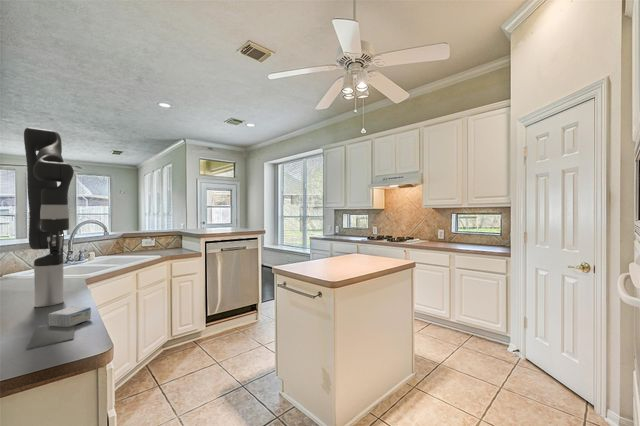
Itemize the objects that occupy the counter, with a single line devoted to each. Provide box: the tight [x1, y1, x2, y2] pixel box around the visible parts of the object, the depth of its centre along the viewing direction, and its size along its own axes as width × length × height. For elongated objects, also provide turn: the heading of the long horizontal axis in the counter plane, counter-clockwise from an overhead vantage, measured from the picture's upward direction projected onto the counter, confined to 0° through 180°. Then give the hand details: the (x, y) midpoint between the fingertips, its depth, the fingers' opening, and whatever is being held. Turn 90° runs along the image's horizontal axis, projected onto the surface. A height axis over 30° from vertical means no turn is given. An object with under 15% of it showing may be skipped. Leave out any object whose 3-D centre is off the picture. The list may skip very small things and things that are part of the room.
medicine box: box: [48, 305, 92, 327], centre depth 100 cm, size 8×4×9 cm
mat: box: [26, 324, 76, 351], centre depth 91 cm, size 20×10×1 cm, turn 40°
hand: (55, 265), depth 102 cm, fingers closed
